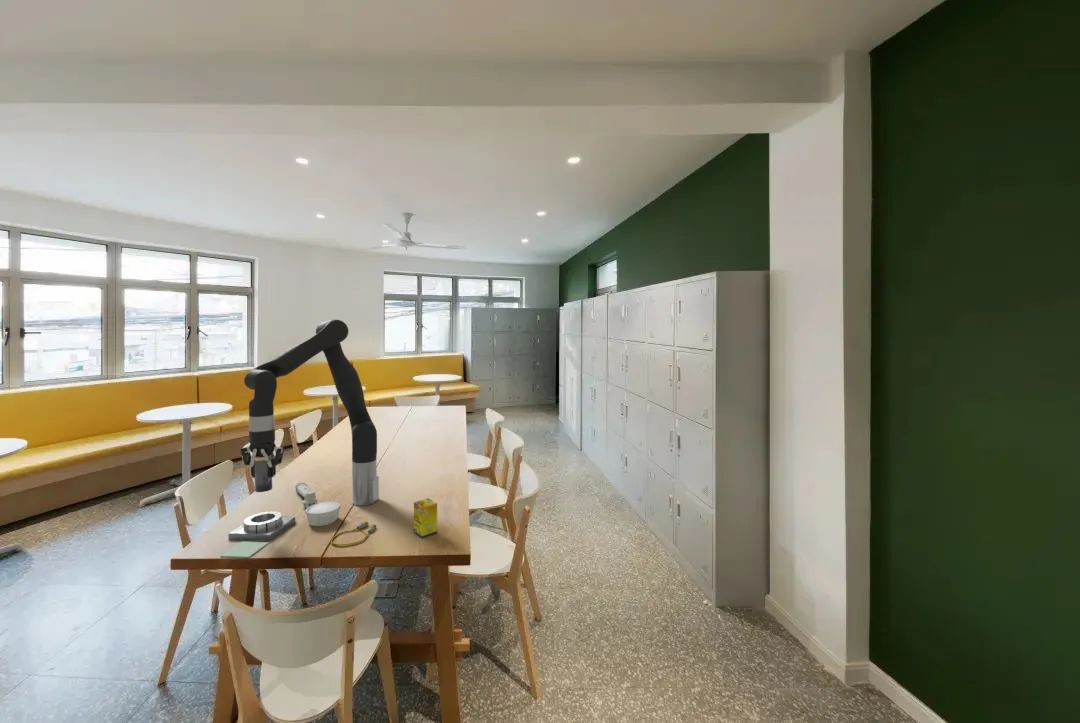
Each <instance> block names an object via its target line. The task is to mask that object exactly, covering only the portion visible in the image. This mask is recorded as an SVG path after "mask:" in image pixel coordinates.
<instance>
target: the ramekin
mask: <svg viewBox="0 0 1080 723" xmlns="http://www.w3.org/2000/svg"><path fill="white" fill-rule="evenodd" d="M340 509H341V504H340V503H338V502H335V501H322V502H319V503H318V502H317V504H314V505H312V506H310V507H308V508H305V515H306V518H307V523H308V524H309V525H310V526H312V527H324V526H329V525H331V524H333V523H335V522H336V521H337V520H338V518H339V515H340V514H339V513H340Z"/></svg>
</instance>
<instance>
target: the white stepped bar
mask: <svg viewBox="0 0 1080 723" xmlns="http://www.w3.org/2000/svg"><path fill="white" fill-rule="evenodd" d="M295 492H296V494H299V495H301V496H302V497H303V498H304V500H302V501H301V502H302V505H303V509H304V510H306V509H307V508H308V507H310V506H312V505H314V504H318V502H319V498H317V496H316V492H315V491H311V489H310V488H309V486H308V484H306V483H305V482H298V483H297V484H296V485H295Z"/></svg>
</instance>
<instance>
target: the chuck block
mask: <svg viewBox="0 0 1080 723" xmlns="http://www.w3.org/2000/svg"><path fill="white" fill-rule="evenodd" d="M295 523H296V516H284V515H283V513H281V512H279V511H275V510H273V511H272V510H271V511H264V512H263V511H262V512H258V513H255V514H252V515H250V516H247V517H246V518H245V519H244V520H243V523H242V524H241V525H240V526H238V527H236V528H235V529H233V530H231V531H230V532H228V533H227V534H228V535H227V536H228V540H245V541H246V540H247V541H250V540H251V541H271V540H272V539H274V538H276V537H277V536H278V535H280V534H281V533H282V532H284V531H286V529H288V528H289V527H291V526H292V525H293V524H295Z"/></svg>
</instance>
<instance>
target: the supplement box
mask: <svg viewBox="0 0 1080 723" xmlns="http://www.w3.org/2000/svg"><path fill="white" fill-rule="evenodd" d="M413 533H414V534H416V535H417V536H419V538H421V539H425V538H428V537H430V536H432V535H435V534H437V533H438V503H437V502H436V501H434V500H432V499H431V498H429V497H428V498H424V499H420V500H417V501H413Z"/></svg>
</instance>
